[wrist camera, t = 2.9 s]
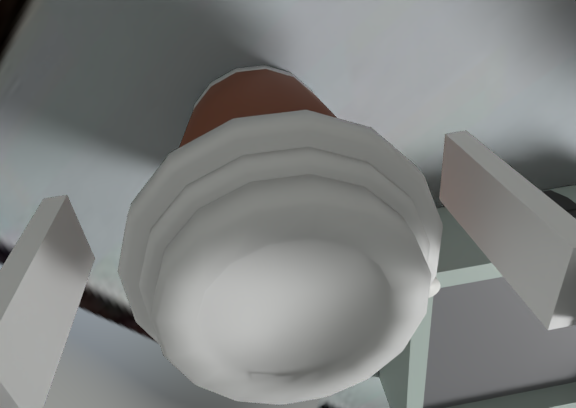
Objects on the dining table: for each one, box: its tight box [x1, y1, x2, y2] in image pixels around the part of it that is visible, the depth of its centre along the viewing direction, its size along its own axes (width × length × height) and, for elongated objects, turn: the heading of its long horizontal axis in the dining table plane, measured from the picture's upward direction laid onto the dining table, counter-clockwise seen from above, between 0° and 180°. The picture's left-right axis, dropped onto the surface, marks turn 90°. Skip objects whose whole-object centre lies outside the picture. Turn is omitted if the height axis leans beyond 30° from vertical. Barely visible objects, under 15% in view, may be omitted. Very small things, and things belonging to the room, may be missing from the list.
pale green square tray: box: [380, 185, 576, 408], centre depth 27 cm, size 14×14×5 cm
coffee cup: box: [118, 65, 443, 405], centre depth 16 cm, size 9×9×12 cm
